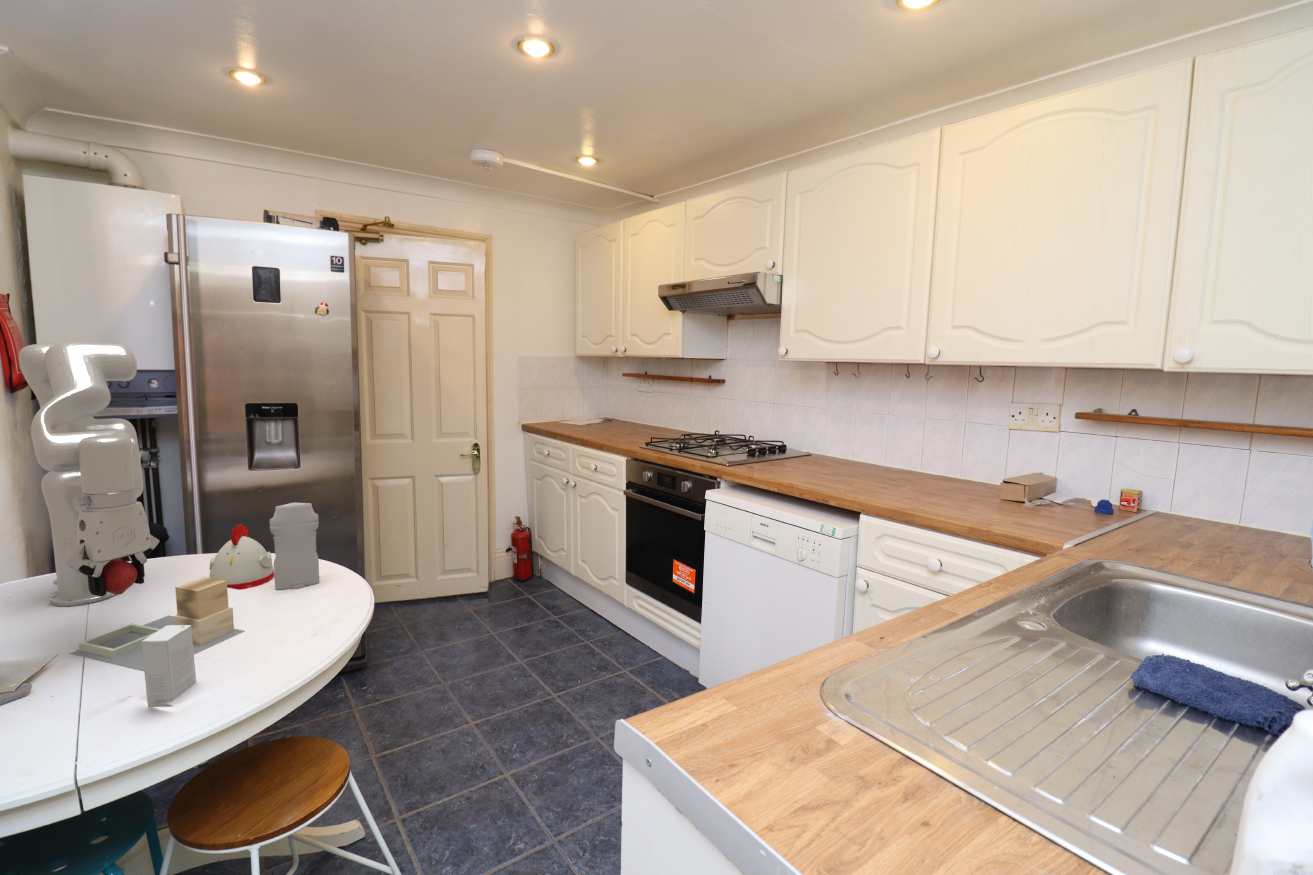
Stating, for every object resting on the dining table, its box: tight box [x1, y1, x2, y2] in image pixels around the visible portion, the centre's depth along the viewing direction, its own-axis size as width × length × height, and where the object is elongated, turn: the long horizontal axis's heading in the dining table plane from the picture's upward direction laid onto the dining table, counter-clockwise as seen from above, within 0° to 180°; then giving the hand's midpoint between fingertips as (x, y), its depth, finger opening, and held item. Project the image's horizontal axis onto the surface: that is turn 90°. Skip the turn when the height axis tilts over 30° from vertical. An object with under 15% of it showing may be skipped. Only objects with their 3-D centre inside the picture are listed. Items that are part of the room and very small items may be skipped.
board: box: [69, 615, 246, 672], centre depth 119 cm, size 22×18×1 cm
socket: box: [78, 622, 160, 658], centre depth 118 cm, size 9×9×2 cm
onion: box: [101, 558, 137, 596], centre depth 116 cm, size 6×6×8 cm
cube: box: [174, 576, 230, 620], centre depth 122 cm, size 6×6×6 cm
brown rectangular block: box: [172, 606, 235, 645], centre depth 122 cm, size 7×7×5 cm
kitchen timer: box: [208, 523, 275, 591], centre depth 154 cm, size 14×14×15 cm
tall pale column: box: [268, 502, 320, 591], centre depth 151 cm, size 11×4×22 cm, turn 125°
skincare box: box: [141, 625, 197, 708], centre depth 102 cm, size 6×4×12 cm
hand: (118, 587), depth 116 cm, fingers closed on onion, 5 cm apart
